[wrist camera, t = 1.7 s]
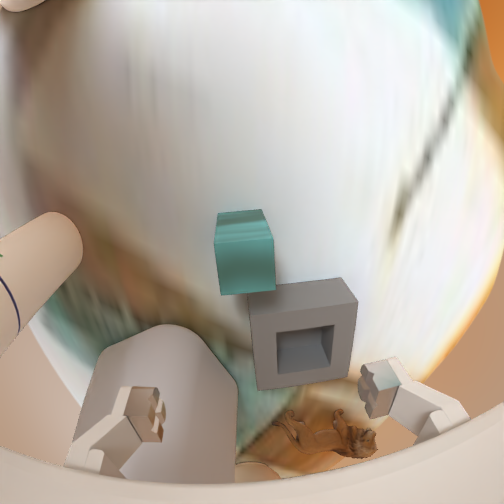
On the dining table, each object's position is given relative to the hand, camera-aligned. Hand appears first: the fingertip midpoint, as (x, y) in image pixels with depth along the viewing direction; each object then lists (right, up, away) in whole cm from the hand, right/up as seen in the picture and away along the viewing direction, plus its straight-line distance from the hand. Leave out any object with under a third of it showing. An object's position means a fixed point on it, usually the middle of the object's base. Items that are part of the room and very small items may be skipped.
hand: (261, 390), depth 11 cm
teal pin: (-1, +7, +18) cm, 19 cm away
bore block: (+4, -2, +22) cm, 23 cm away
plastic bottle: (-11, -10, +24) cm, 28 cm away
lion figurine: (+10, -19, +30) cm, 37 cm away
